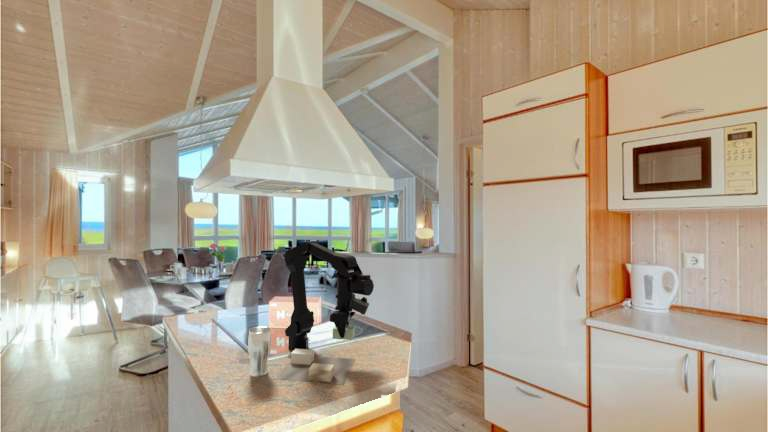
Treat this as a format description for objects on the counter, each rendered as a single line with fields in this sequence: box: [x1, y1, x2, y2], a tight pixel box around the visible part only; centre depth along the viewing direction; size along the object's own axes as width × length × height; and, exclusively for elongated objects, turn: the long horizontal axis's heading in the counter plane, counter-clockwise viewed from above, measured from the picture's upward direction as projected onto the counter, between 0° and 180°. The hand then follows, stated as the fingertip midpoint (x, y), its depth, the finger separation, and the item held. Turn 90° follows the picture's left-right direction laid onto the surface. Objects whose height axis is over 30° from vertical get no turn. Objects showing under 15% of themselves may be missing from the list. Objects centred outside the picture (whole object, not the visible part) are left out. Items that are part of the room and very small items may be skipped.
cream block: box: [289, 348, 315, 365], centre depth 125 cm, size 7×4×4 cm, turn 84°
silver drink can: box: [247, 326, 272, 378], centre depth 116 cm, size 7×7×15 cm
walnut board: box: [274, 355, 356, 386], centre depth 120 cm, size 22×20×1 cm
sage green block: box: [332, 325, 356, 341], centre depth 126 cm, size 7×4×4 cm, turn 84°
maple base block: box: [309, 363, 334, 382], centre depth 113 cm, size 7×4×4 cm, turn 84°
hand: (343, 335), depth 126 cm, fingers closed on sage green block, 4 cm apart
